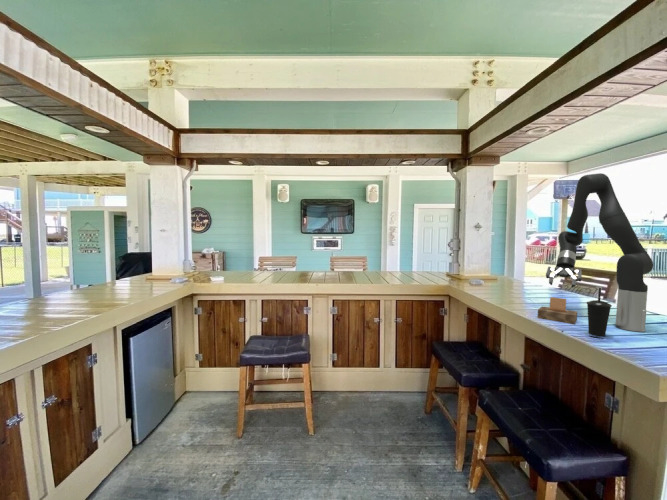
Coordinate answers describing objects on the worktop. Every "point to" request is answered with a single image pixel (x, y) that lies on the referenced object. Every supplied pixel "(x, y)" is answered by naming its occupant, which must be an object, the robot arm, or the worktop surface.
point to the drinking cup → (598, 316)
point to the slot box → (557, 315)
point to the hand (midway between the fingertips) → (561, 285)
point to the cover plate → (557, 304)
